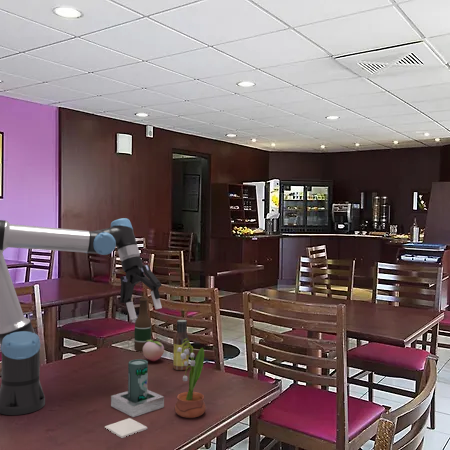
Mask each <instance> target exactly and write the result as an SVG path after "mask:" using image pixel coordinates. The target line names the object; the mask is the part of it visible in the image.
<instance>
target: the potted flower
mask: <svg viewBox="0 0 450 450" xmlns="http://www.w3.org/2000/svg"><path fill="white" fill-rule="evenodd" d="M188 338H189V337H188ZM188 338H186V339H187V340H188ZM186 339H184V340H186ZM184 340H183V341H184ZM187 342H188V344H189V345H188V344H187V346H186V347H185V348H186V349H185V348H184V345H185V343H187ZM182 345H183V347H182V348H180V347H181V346H182ZM182 345H181V346H180V347H179V348H178V350H177V351H179V352H181V350H182V354H181V359H182V360H184V358H185V359H187V358H186V355H187V354H189V356H187V357H189V359H190V364H189V361H188V362H187V361H185V362H184V365H185V366H186V365H187V366H188V367H187V369H186V370H185V373H184V375H183V376H182V381H183V382H188V391H184V392H181V393H179V394H177V396H176V398H177V399H176V403H175V406H174V411H175V413H176V415H178V416H180V417H183V418H187V419H194V418H198V417H200V416H202V415H203V414H204V413H205V412H206V410H207V407H206V402H205V401H204V399H205V395H204V394H203V393H201V392H197V391H194V389H195V387H196V385H197V382H198V380H199V379H200V377H201V374H202V370H203V368H204V363H205V362H204V360H205V350H204V347H200V349H199V350H198V352H197V354H196V356H195V353H194V351H193V350H194V347H193V346H192V345H191V342H190V340H189V341H185V342H184V344H182ZM187 347H189V349H187ZM183 348H184V349H185V350H184V353H183ZM189 368H190V370H189V376H188V375H186V374H187V371H188V369H189Z"/></svg>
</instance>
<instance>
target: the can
mask: <svg viewBox="0 0 450 450" xmlns="http://www.w3.org/2000/svg"><path fill="white" fill-rule="evenodd" d="M148 366H149V360H145V359H140V358H139V359H137V358H136V359H132V360H129V362H128V365H127V367H128V369H127V370H128V371H127V372H128V375H127V376H128V377H127V379H128V380H127V382H128V383H127V391H128V400H129V401H131V402H133V403H137V402H140V401H143V400H146V399H147V390H148V384H149V383H148V376H149V375H148V374H149V373H148V369H149V367H148Z"/></svg>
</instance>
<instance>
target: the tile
mask: <svg viewBox="0 0 450 450" xmlns="http://www.w3.org/2000/svg"><path fill="white" fill-rule="evenodd" d="M105 428H106V429H105ZM104 429H105V430H107V429H108V430H109V431H108V430H107V431H108V432H110V431H111V432H110V433H112V434H113V435H115V434H116V435H115V436H117V437H119V438H121V439H125V438H126V436H127V437H129V435H130V436H132V435H135V434H137V432H138V433H140V432H143V431H146V430H148V426H146V425H145V424H142V423H140V422H139V421H136V420H134V419H133V418H132V417H128V418H125V419H122V420H119V421H117V422H114V423H109V424H108V425H105V426H104ZM134 433H135V434H134Z"/></svg>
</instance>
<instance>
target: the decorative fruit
mask: <svg viewBox="0 0 450 450" xmlns="http://www.w3.org/2000/svg"><path fill="white" fill-rule="evenodd" d="M147 341H148V342H147ZM147 341H146V342H147V343H146V344H145V345H144V346H143V352H142V354H143V356H144V357H145V358H146V359H147V360H148V361H151V362H156V361H158V360H160V359H161V358H162V357H163V355H164V353H165V347H164V345H163V343H162V342H160V341H156V340H155V338H152V339H151V340H147Z"/></svg>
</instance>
